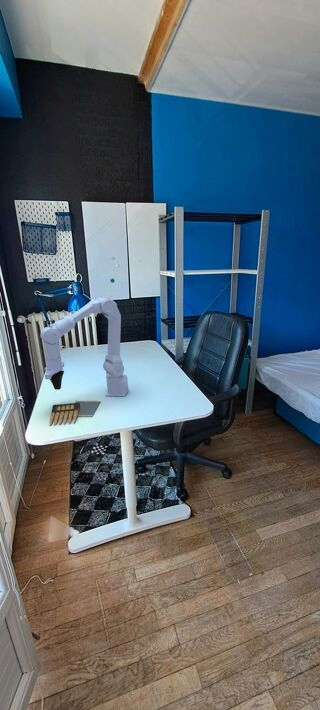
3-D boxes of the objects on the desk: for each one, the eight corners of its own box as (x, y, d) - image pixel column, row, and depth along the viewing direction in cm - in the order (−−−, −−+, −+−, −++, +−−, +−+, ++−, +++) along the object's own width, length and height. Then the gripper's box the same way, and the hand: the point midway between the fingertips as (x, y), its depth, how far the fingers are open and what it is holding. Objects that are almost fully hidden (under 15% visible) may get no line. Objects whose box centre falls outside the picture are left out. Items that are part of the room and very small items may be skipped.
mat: (100, 401, 129) (100, 400, 129) (92, 417, 117) (92, 415, 117) (76, 401, 130) (76, 400, 130) (65, 416, 118) (65, 415, 118)
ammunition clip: (53, 408, 122) (47, 427, 111) (52, 404, 121) (47, 423, 111) (80, 406, 123) (77, 424, 113) (79, 402, 123) (76, 420, 112)
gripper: (51, 352, 125) (55, 381, 129) (34, 363, 111) (40, 396, 115) (67, 351, 124) (71, 381, 128) (53, 363, 110) (58, 396, 114)
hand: (57, 388), depth 122 cm, fingers closed
